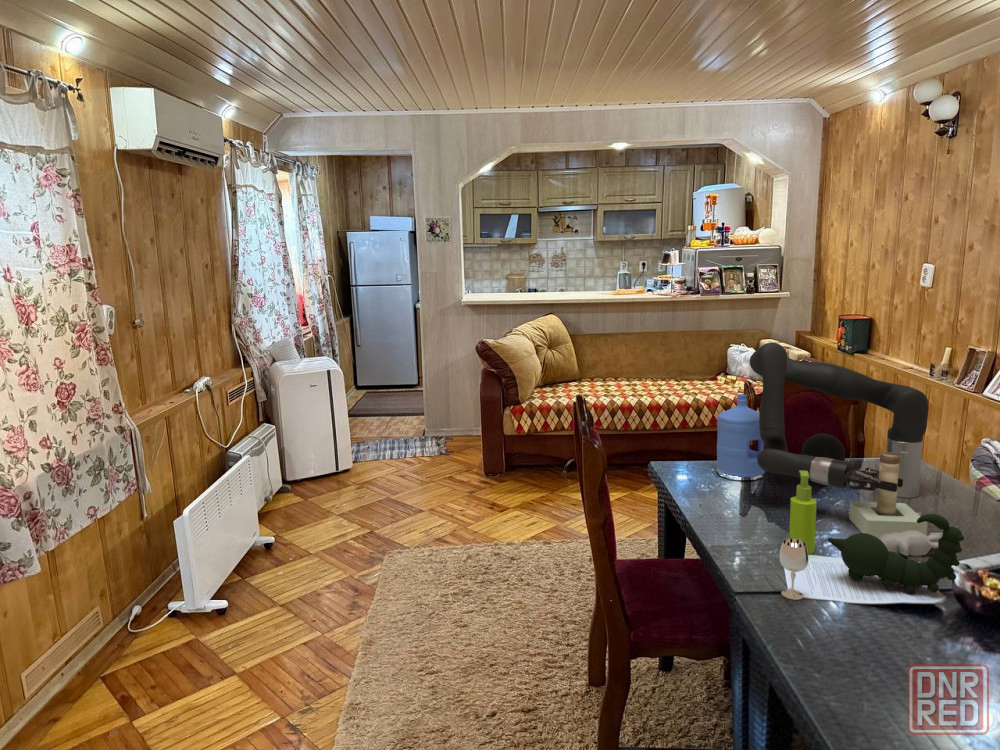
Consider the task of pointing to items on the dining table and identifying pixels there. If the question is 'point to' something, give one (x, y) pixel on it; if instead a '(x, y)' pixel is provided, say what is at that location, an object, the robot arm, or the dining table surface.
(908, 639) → the dining table surface
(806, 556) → the wineglass
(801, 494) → the soap dispenser
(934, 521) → the toy figurine
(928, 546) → the bunny figurine
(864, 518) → the socket block
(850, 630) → the dining table surface
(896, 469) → the peg
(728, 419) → the water jug
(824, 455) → the black ball on pedestal
